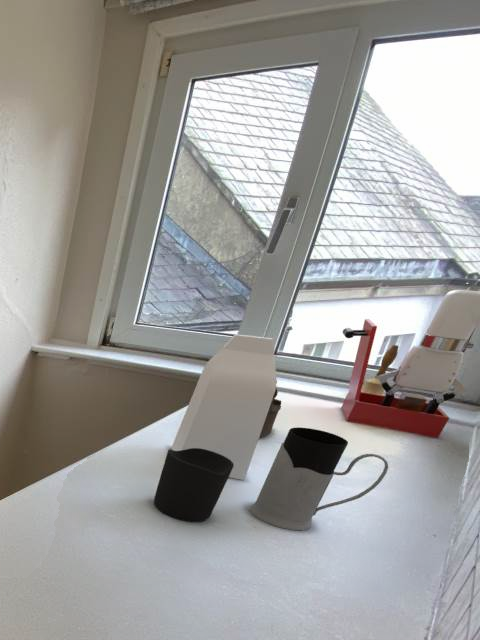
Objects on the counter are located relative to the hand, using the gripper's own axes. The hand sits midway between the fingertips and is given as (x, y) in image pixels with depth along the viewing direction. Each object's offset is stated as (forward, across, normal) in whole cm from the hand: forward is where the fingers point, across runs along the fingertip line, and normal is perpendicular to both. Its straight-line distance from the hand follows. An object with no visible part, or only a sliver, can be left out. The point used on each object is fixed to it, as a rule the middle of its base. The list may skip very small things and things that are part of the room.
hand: (404, 412), depth 141 cm
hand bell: (+4, +3, -25) cm, 25 cm away
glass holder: (+4, +24, +83) cm, 87 cm away
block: (+3, 0, 0) cm, 3 cm away
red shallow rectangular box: (+3, +2, 0) cm, 4 cm away
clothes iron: (+4, +32, +35) cm, 48 cm away
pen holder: (+4, +41, +92) cm, 101 cm away
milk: (+4, +39, +65) cm, 76 cm away
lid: (-12, +12, 0) cm, 17 cm away
